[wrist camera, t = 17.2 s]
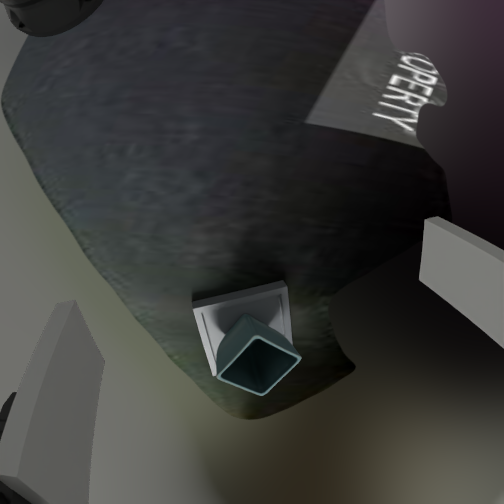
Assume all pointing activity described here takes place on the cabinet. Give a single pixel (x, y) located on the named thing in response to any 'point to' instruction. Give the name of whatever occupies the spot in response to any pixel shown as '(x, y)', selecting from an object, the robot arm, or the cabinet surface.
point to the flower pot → (254, 356)
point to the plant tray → (234, 306)
